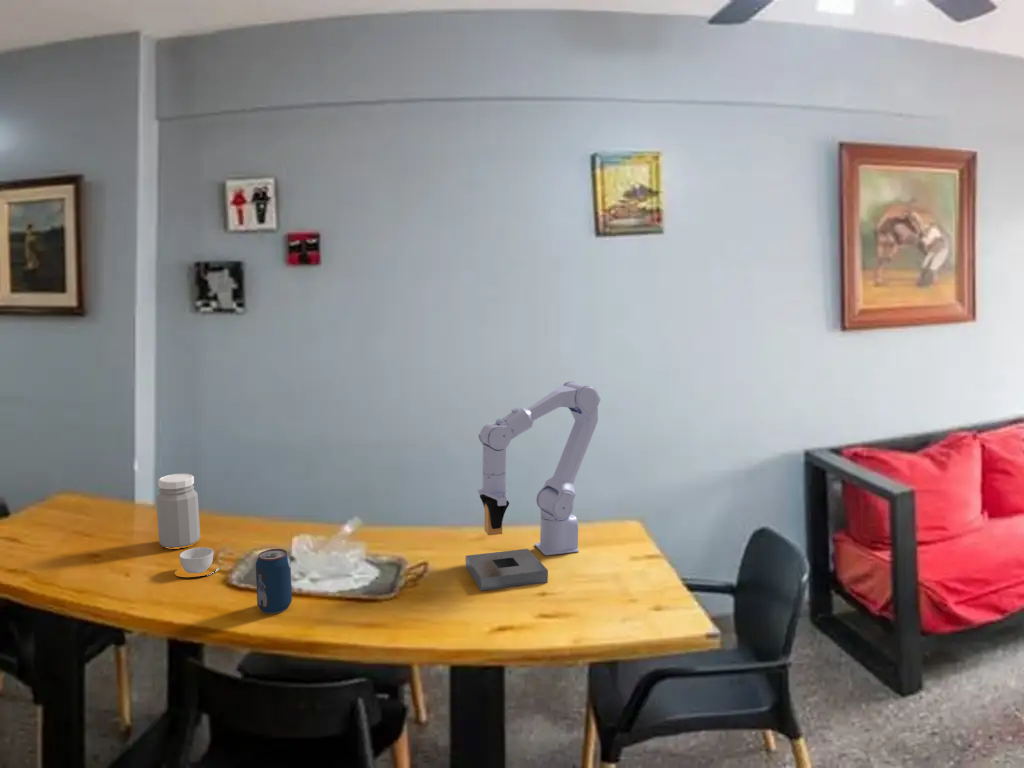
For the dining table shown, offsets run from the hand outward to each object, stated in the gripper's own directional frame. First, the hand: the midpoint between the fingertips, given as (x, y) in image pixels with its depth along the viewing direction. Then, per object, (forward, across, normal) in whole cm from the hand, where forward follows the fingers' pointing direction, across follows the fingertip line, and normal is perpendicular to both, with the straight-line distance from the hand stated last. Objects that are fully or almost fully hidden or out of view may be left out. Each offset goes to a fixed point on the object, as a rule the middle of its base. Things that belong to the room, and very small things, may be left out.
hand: (494, 525), depth 175 cm
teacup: (+9, -13, -70) cm, 72 cm away
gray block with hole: (+9, +10, 0) cm, 13 cm away
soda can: (+9, +12, -52) cm, 54 cm away
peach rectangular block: (+2, 0, 0) cm, 2 cm away
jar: (+9, -33, -76) cm, 84 cm away
